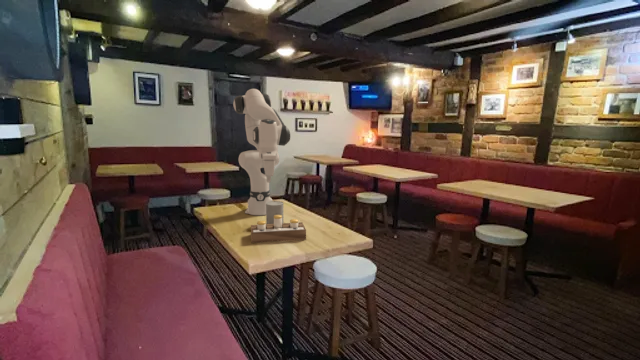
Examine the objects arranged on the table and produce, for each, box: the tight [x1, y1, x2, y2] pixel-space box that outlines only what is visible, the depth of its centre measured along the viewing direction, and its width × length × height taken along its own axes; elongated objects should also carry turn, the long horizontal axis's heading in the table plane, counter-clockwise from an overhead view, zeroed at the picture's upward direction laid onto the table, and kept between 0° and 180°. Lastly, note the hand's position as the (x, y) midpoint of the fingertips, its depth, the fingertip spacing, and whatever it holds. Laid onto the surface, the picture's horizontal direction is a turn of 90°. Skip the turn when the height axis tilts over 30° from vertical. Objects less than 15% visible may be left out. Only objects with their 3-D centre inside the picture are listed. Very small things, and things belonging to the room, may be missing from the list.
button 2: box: [289, 218, 299, 228], centre depth 166 cm, size 4×4×8 cm
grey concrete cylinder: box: [265, 200, 284, 224], centre depth 184 cm, size 10×10×12 cm
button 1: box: [256, 220, 266, 230], centre depth 163 cm, size 4×4×8 cm
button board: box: [250, 222, 307, 244], centre depth 165 cm, size 12×26×5 cm, turn 102°
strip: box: [253, 227, 304, 233], centre depth 160 cm, size 3×24×1 cm, turn 102°
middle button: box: [274, 215, 282, 229], centre depth 164 cm, size 4×4×8 cm
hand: (268, 182), depth 163 cm, fingers closed
